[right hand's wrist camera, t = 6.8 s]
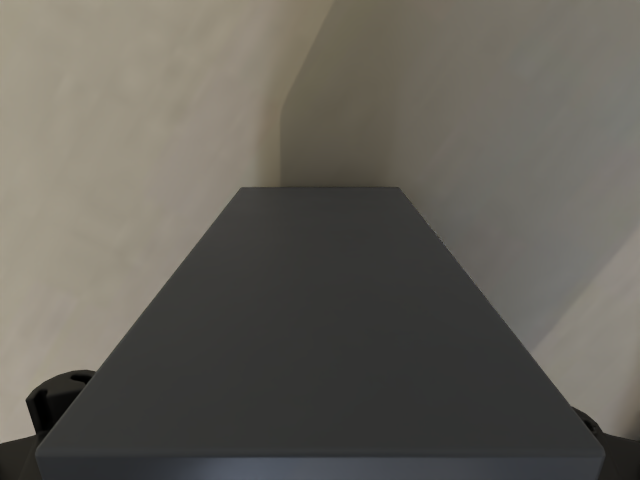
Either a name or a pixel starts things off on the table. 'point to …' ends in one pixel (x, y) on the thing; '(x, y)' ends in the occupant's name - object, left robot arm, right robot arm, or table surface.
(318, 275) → the box
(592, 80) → the table surface
